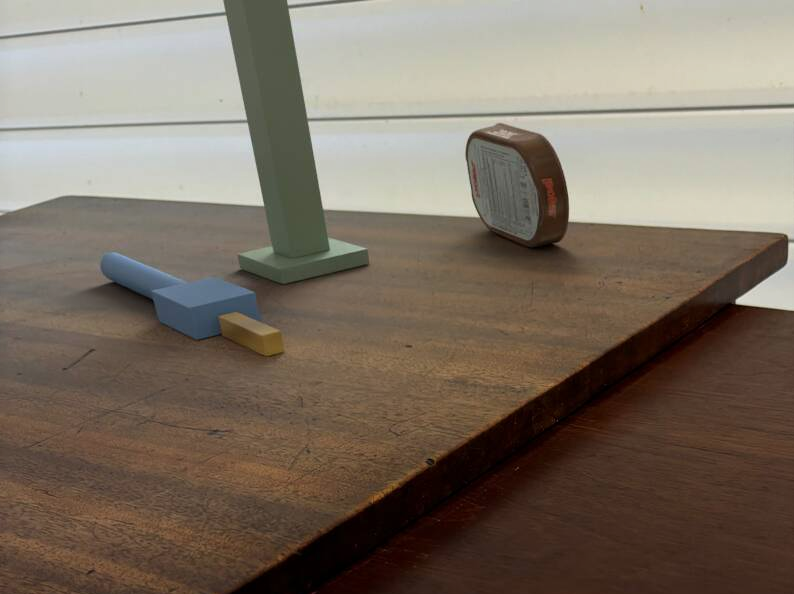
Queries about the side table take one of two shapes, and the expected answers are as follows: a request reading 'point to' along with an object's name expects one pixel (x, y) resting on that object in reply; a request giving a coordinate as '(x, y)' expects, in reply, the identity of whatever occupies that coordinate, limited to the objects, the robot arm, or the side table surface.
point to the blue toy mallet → (182, 296)
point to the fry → (251, 334)
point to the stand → (282, 148)
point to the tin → (518, 184)
